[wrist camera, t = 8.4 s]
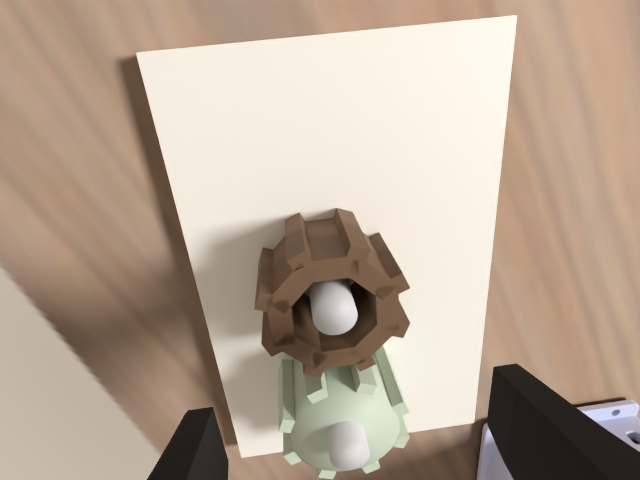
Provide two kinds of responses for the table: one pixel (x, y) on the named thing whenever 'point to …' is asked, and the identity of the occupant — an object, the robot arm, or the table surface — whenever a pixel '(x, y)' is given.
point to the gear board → (348, 194)
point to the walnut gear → (322, 265)
